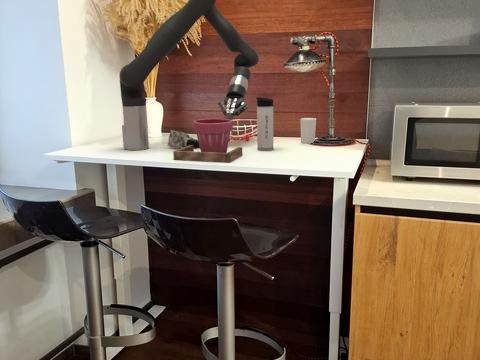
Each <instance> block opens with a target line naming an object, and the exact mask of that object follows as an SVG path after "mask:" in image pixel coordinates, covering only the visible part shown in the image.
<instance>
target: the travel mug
mask: <svg viewBox="0 0 480 360" xmlns="http://www.w3.org/2000/svg"><path fill="white" fill-rule="evenodd" d="M255 99H256V104H257V105H256V119H257V120H256V125H257V127H256V129H257V130H256V131H257V134H256V135H257V137H256V138H257V139H256V140H257V143H256V144H257V145H256V147H257V150H258V151H261V152H265V151H266V152H269V151H270V152H271V151H273V150H274V99H273V98H268V97H267V98H265V97H260V96H258V97H256V98H255Z"/></svg>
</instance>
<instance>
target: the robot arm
mask: <svg viewBox="0 0 480 360" xmlns="http://www.w3.org/2000/svg"><path fill="white" fill-rule="evenodd" d="M216 2H217V0H188V1H187V2H186V4H184V5H183V7H181V8H180V9H179V10H178V11H176V12H175V13H173V14H172V15H171V16H170V17H169V18H167V19H166V20H165V21H164V22H163V23H162V24H161V25H160V26H159V27H158V28H157V29H156V31H154V33H153V34H152V36H151V37H150V39H148V42H147V43H146V45H145V46H144V48H143V50H142V51H141V52H140V53H139V54H138V55H136V57H135V58H134V59H133V60H132V61H130V62H129V63H128V64H126V65H124V66H123V67H121V69H120V70H119V86H120V87H119V88H120V97H121V104H122V105H121V106H122V107H121V108H122V118H123V124H122V126H121V131H122V132H121V133H122V144H123V149H124V150H128V151H142V150H147V149H149V148H150V142H149V131H148V130H149V129H148V115H147V114H148V113H147V100H146V94H145V85H144V83H145V81H146V80H147V78H148V77H149V75H150V74H151V73H152V71H154V69H155V68H156V66H157V65H158V64H160V63H161V62H162V61H163V60H164V59H165V57H167V56H168V55H169V54H170V53H172V50H174V49H175V48H176V47H177V46H178V45H179V43H180V42H181V41H182V40H183V39H184V37H185V36H186V35H187V34H188V32H189V31H190V30H191V29H192V28H193V26H194V25H195V24H196V23H197V21H199V19H200V18H201V17H202V16H203V17H204V19H206V21H207V22H208V23H209V24H210V25H211V27H212V28H213V29H214V30H215V31H216V34H218V36H219V38H220V39H221V40H222V42H223V43H224V44H225V46H226V47H227V49H228V50H229V51H230V52H231V53H238V54H237V55H236V56H235V57H234V59H233V70H234V72H233V75H232V77H231V80H230V82H229V85H228V89H227V92H226V94H225V95H226V96H225V98H224V99H223V101H222V102H220V101H219V102H217V105H218V107H219V109H220V111H221V112H222V114H223V116H224V119H230V120H232V121H233V120H234V117H235V116H236V117H239V116H240V115H241V114H242V113H244V112H245V111H246V110H247V109H248V104H247V102H245V99H246V98H245V97H246V94H247V92H248V87H249V82H250V77H251V71H250V68H252V67H255V66H256V65H258V64H259V59H260V58H259V56H258V52H257V51H256V50H255V49H254V48H253V47H252V46H250V45H249V44H248V43H247V42H246V41H245V40H244V39H243V38H242V37H241V35H240V34H239V32H238V30H237V29H236V28H235V27H234V26H233V24H232V23H231V22H230V21H229V20H227V18H225V16H224V15H223V14H222V13H221V12H220V11H219V9H218V7H217V6H216V5H215V4H216ZM225 106H226V109H225Z"/></svg>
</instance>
